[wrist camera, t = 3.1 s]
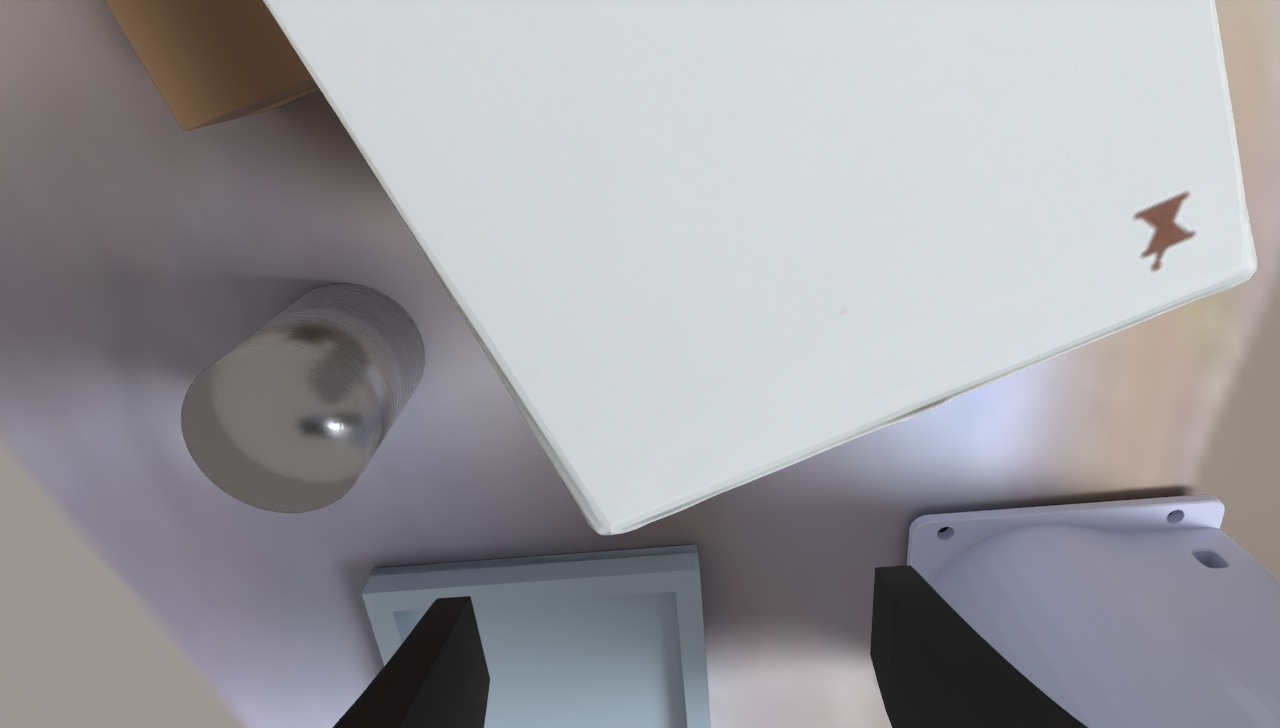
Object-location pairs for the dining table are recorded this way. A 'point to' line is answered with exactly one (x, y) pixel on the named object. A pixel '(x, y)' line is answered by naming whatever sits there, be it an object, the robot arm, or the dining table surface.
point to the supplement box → (783, 205)
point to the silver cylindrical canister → (304, 399)
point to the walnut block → (214, 57)
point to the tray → (569, 634)
